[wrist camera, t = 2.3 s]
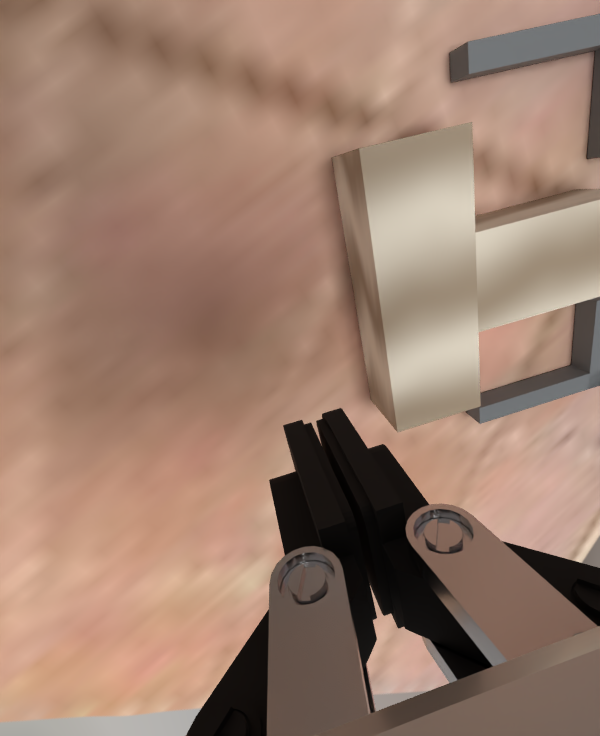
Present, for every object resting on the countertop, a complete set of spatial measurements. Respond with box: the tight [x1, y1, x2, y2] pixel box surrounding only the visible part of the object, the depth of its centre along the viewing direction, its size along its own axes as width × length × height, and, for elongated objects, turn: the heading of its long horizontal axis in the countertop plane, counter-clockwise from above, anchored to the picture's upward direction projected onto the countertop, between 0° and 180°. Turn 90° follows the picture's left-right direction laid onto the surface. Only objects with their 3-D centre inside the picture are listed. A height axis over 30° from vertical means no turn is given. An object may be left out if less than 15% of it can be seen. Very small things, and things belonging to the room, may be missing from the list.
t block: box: [332, 122, 600, 432], centre depth 22 cm, size 14×14×4 cm
